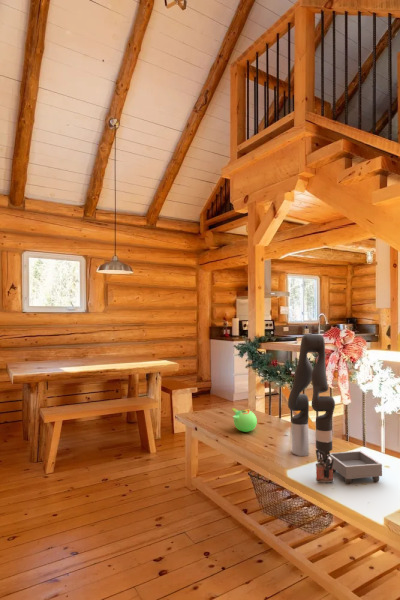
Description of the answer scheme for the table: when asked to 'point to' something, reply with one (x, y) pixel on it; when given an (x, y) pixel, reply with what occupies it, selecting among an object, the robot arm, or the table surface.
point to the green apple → (244, 420)
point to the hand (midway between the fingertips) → (324, 475)
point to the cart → (356, 465)
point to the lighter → (322, 472)
